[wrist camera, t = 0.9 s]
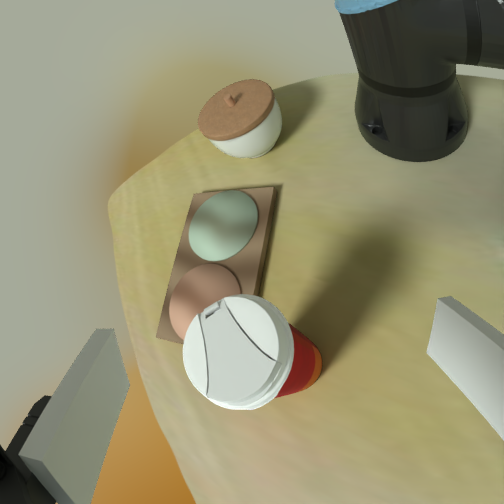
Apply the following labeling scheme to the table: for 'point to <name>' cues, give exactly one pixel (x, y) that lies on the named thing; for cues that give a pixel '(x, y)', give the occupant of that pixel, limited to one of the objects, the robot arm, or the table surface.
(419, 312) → the table surface
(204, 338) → the paper cup
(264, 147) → the lidded jar
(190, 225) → the brown flat rectangular board
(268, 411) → the table surface
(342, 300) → the table surface
